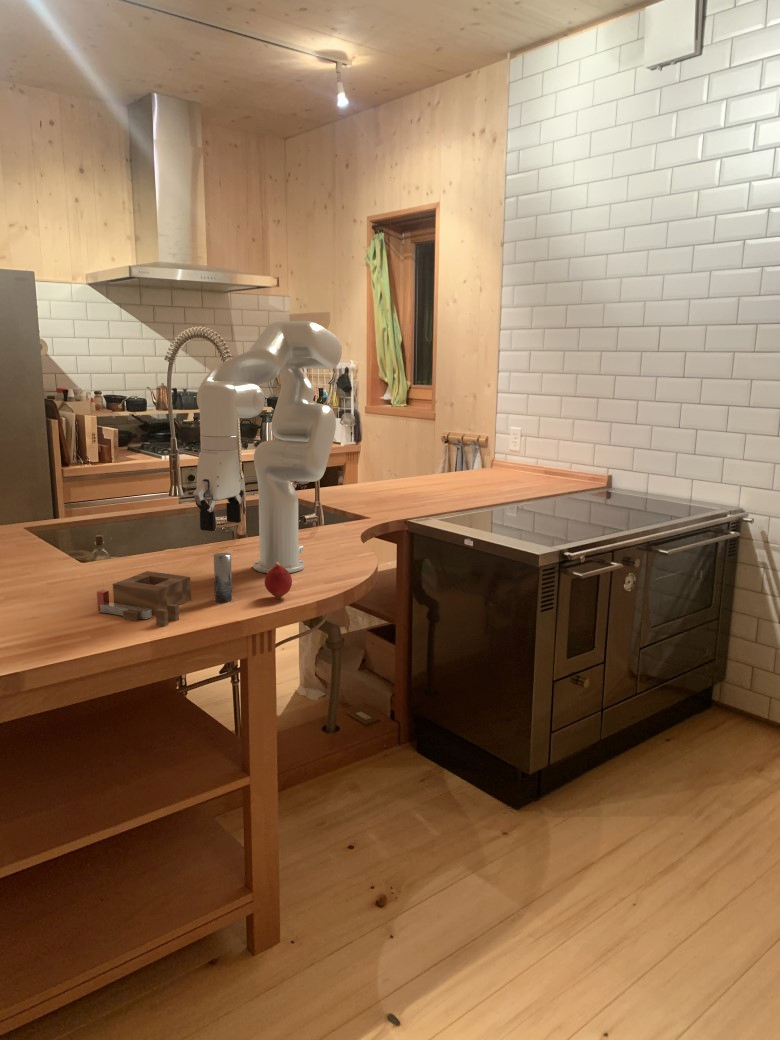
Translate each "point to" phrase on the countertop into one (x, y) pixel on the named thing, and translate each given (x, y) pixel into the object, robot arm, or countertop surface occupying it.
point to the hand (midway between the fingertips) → (221, 526)
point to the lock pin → (118, 606)
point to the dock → (153, 595)
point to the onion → (278, 581)
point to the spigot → (222, 577)
